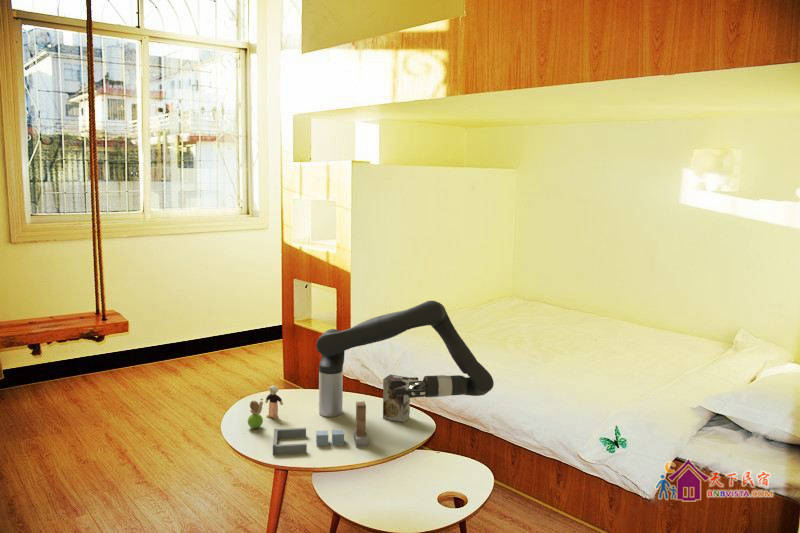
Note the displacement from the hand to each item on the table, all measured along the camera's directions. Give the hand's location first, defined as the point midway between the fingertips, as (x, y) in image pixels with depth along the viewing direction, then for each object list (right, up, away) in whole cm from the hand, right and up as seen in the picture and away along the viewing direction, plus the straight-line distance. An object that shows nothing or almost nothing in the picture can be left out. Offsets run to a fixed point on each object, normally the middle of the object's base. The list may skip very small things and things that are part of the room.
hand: (392, 387), depth 217 cm
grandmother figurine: (-46, -16, +21) cm, 53 cm away
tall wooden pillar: (-11, -19, +1) cm, 22 cm away
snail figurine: (-51, -17, +10) cm, 54 cm away
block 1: (-25, -19, -1) cm, 31 cm away
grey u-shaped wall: (-35, -19, -3) cm, 40 cm away
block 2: (-19, -19, 0) cm, 27 cm away
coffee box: (+1, -16, +23) cm, 28 cm away
